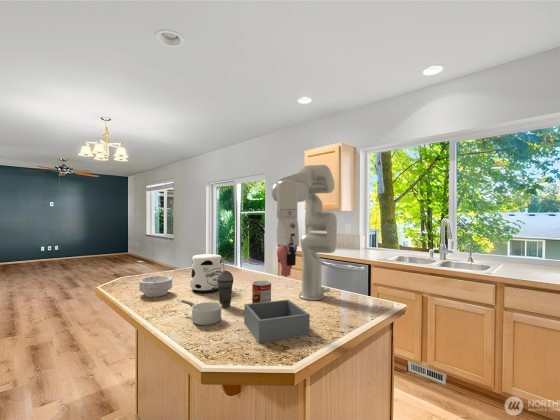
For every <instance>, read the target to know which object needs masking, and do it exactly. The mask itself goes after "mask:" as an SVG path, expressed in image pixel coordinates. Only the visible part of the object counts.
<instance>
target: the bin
mask: <svg viewBox="0 0 560 420" xmlns="http://www.w3.org/2000/svg"><path fill="white" fill-rule="evenodd" d="M243 307H244V308H243V310H244V311H243V315H244V317H243V318H244V319H243V320H244V321H243V323H244V325H245V326H246V328H247V329H248V331H249V332H250V333H251V335H252V336H253V338H254V339H255V340H256V342H257V343H258V344H265V343H269V342H276V341H281V340H288V339H294V338H300V337H306V336H307V337H308V336H310V321H311V319H310V317H311V315H310V313H309V312H307V311H306V310H304V308H301V307H300V306H299V305H297V304H296V303H294V302H293V301H291V300H290V299H281V300H271V301H270V302H261V303H252V302H251V303H245V304H244V306H243Z"/></svg>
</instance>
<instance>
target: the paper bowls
mask: <svg viewBox="0 0 560 420" xmlns="http://www.w3.org/2000/svg"><path fill="white" fill-rule="evenodd" d="M138 281H139V282H138V283H139V284H138V285H139V286H138V287H139V290H138V291H139V292H141V293H142V294H143V295H144V296H145V297H147V298H158V297H162V296H165V295H167V293H168V291H170V290H171V289H172V288H173V278H172V277H171V276H167V275H156V276H155V275H152V276H146V277H142V278H140V279H139V280H138Z"/></svg>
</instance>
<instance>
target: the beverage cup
mask: <svg viewBox="0 0 560 420" xmlns="http://www.w3.org/2000/svg"><path fill="white" fill-rule="evenodd" d="M225 269H226V268H225V262H224V260H222V270H223V271H222V272H221V273H220V274H219V275H218V278H217V283H218V290H217V291H218V303H220V304H222V307H221V309H227V308H230V307H231V301H232V292H233V284H234V280H235V279H234V276H233V273H231V271H229V270H225Z"/></svg>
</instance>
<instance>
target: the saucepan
mask: <svg viewBox="0 0 560 420" xmlns="http://www.w3.org/2000/svg"><path fill="white" fill-rule="evenodd" d="M180 303H182V304H186V305H189V306H190V309H191V322H192V323H194V324H196V325H199V326H209V325H214V324H216V323H218V322H219V321H221V320H222V308H221V307H222V304H220V303H219V302H216V301H214V302H213V301H204V302H198V303H196V304H195V303H194V302H191V301H188V300H186V299H185V300H184V299H182V300H180Z"/></svg>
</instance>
